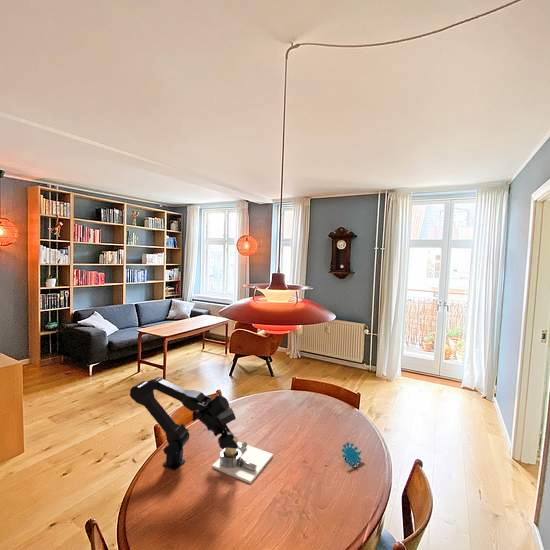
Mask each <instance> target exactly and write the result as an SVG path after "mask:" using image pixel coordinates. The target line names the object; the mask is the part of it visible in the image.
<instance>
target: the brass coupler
mask: <svg viewBox="0 0 550 550" xmlns="http://www.w3.org/2000/svg"><path fill="white" fill-rule="evenodd" d="M234 441H235V442H236V444H237V442H239V441H238V437H237V436H236V435H234ZM236 455H237V449H235V448H225V457H226V458H235V457H236Z"/></svg>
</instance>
